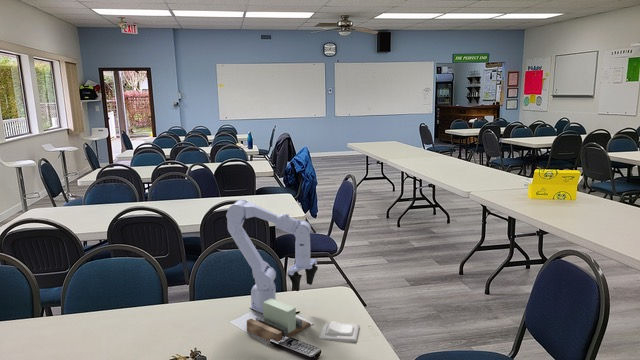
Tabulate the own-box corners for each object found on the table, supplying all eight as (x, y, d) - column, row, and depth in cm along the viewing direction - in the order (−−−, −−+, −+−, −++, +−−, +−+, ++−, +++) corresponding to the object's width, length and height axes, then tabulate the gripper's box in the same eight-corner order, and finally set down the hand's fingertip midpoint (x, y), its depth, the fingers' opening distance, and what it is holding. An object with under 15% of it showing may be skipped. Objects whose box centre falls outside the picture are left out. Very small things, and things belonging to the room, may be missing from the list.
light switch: (323, 316, 163) (359, 317, 161) (324, 326, 164) (359, 328, 161) (318, 331, 153) (355, 332, 150) (318, 342, 153) (356, 344, 151)
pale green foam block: (288, 333, 155) (287, 311, 153) (263, 322, 162) (263, 302, 161) (297, 328, 158) (297, 306, 157) (273, 317, 166) (272, 297, 164)
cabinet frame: (246, 331, 158) (246, 320, 158) (280, 313, 171) (280, 303, 171) (277, 345, 149) (277, 334, 148) (310, 325, 162) (310, 315, 161)
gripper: (298, 261, 162) (298, 296, 164) (323, 250, 173) (323, 283, 175) (283, 256, 166) (284, 291, 169) (309, 246, 177) (309, 279, 180)
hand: (303, 287), depth 172 cm, fingers open, 7 cm apart
